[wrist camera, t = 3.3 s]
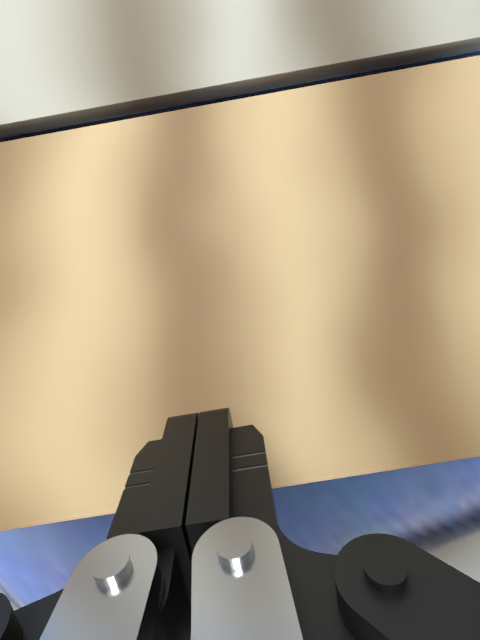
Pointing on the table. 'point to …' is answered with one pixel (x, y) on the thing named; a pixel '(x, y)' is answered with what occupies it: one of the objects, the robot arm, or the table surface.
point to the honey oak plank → (243, 286)
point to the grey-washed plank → (203, 50)
